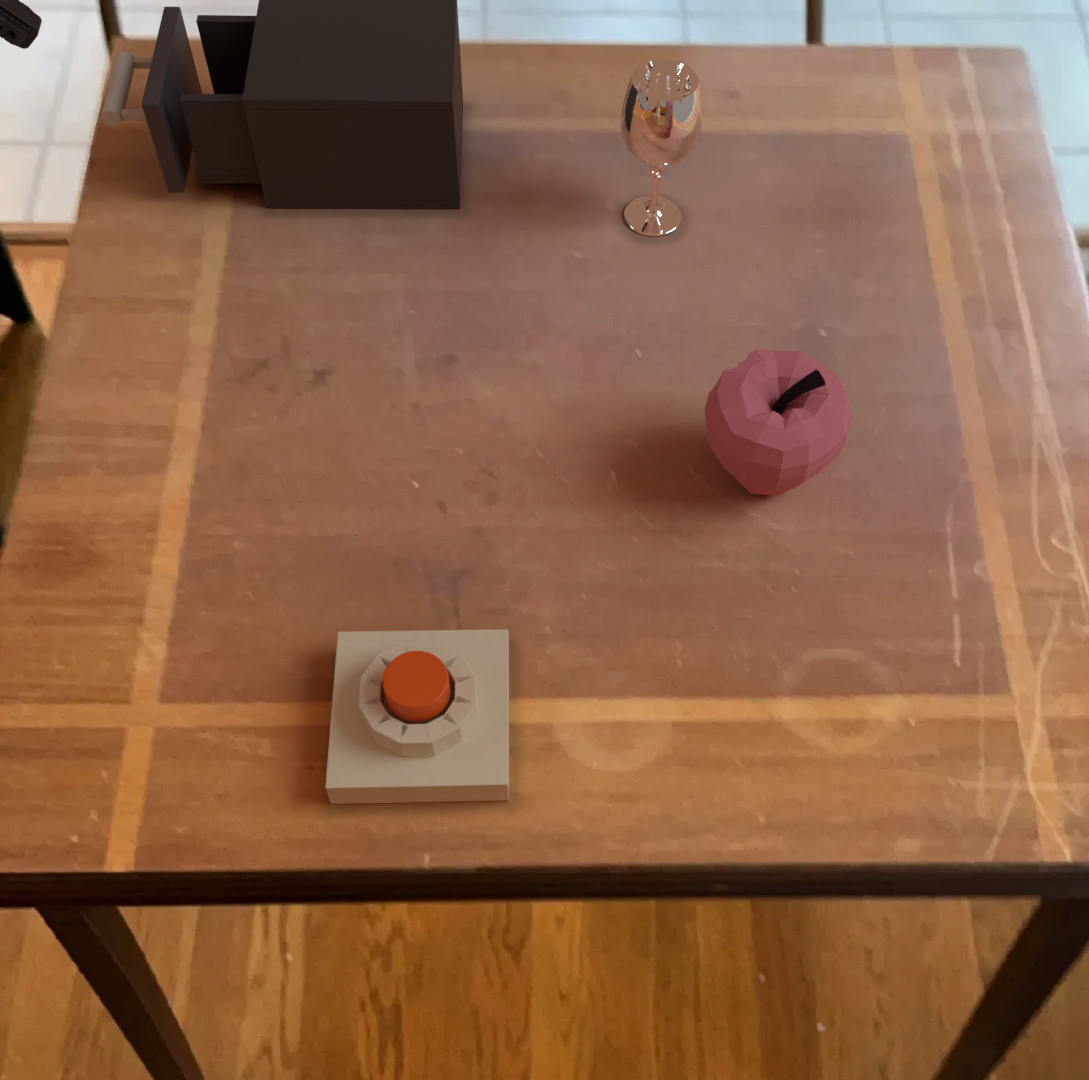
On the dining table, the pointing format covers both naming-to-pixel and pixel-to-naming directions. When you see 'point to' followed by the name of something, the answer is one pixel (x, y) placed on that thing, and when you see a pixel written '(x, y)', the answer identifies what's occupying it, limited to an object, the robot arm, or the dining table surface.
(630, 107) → the wineglass
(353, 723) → the control block
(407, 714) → the button
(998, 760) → the dining table surface
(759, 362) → the apple
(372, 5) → the dark brown box
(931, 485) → the dining table surface
